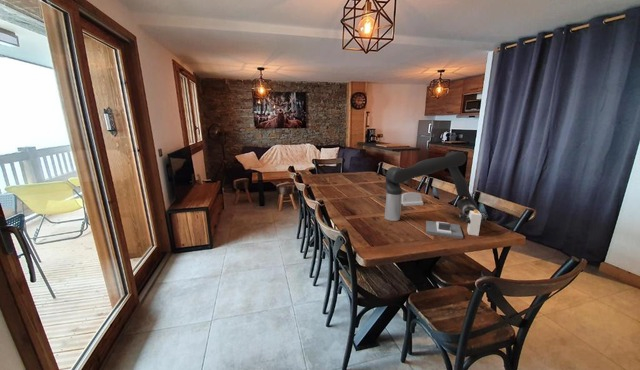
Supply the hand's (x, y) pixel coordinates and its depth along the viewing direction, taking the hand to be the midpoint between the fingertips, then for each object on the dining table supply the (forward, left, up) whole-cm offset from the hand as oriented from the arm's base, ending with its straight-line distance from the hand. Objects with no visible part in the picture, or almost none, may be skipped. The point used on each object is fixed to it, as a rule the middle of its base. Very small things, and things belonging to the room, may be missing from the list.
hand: (475, 222), depth 135 cm
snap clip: (-15, -3, -5) cm, 16 cm away
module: (0, +3, -7) cm, 8 cm away
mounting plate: (-15, +1, -7) cm, 17 cm away
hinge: (-34, +44, -8) cm, 56 cm away
